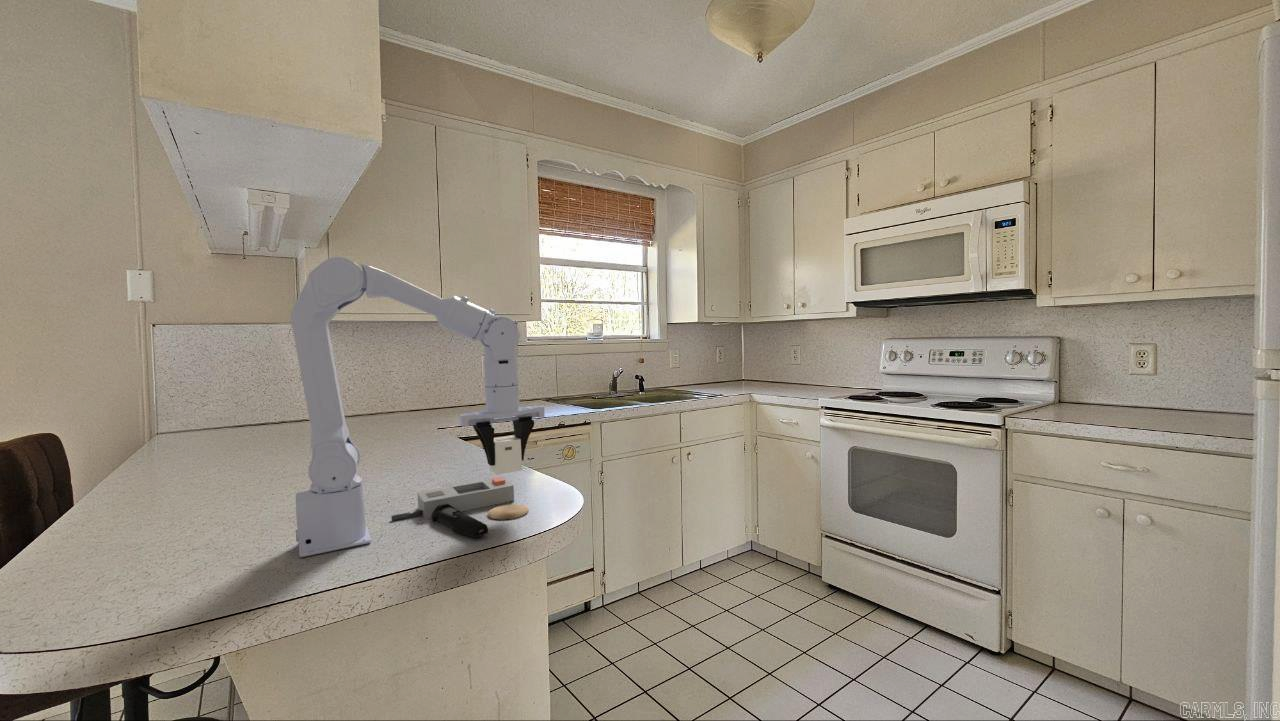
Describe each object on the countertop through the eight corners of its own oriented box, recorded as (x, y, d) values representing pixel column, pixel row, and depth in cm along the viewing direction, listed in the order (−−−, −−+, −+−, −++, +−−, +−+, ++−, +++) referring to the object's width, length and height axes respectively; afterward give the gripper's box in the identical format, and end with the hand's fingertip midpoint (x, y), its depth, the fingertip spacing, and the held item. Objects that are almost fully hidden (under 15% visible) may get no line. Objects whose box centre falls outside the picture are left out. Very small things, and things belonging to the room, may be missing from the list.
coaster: (494, 522, 92) (494, 520, 92) (483, 511, 98) (483, 509, 98) (534, 514, 95) (533, 512, 95) (521, 503, 101) (520, 501, 101)
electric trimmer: (472, 547, 83) (471, 526, 82) (429, 522, 94) (428, 504, 94) (494, 540, 85) (493, 520, 85) (450, 516, 96) (449, 498, 96)
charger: (497, 474, 93) (495, 442, 93) (489, 469, 97) (487, 438, 97) (522, 470, 95) (520, 438, 95) (514, 465, 99) (512, 435, 99)
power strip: (393, 525, 92) (392, 503, 92) (388, 513, 98) (387, 493, 98) (514, 501, 103) (513, 481, 103) (503, 492, 109) (502, 473, 109)
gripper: (533, 380, 102) (537, 451, 103) (454, 387, 95) (458, 464, 96) (547, 383, 96) (550, 458, 97) (463, 390, 89) (468, 472, 90)
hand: (505, 462), depth 96 cm, fingers closed on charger, 4 cm apart
